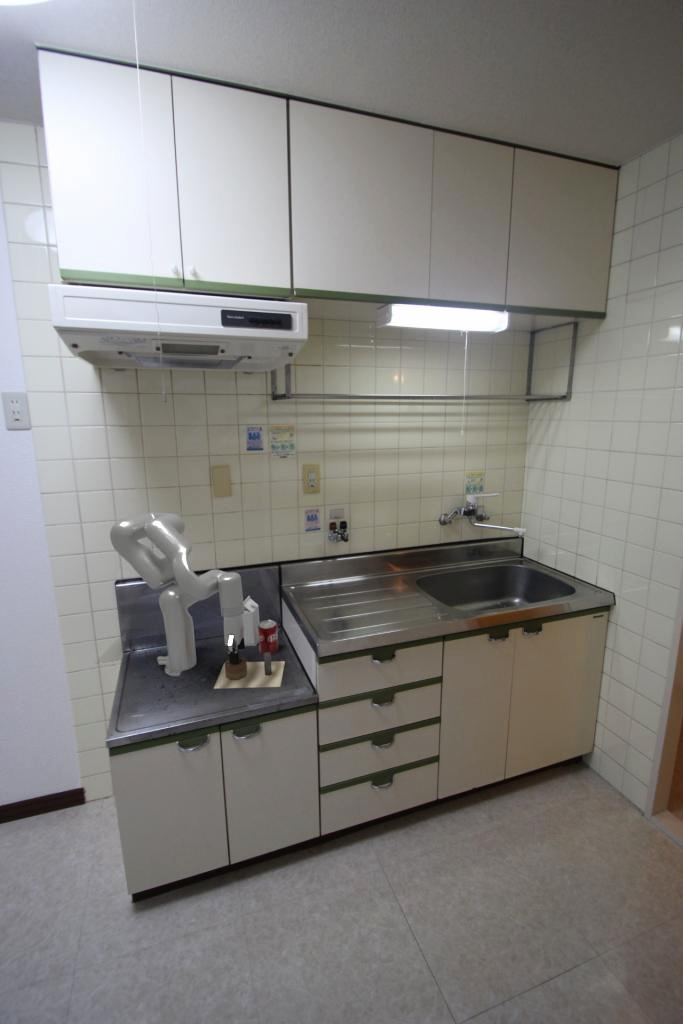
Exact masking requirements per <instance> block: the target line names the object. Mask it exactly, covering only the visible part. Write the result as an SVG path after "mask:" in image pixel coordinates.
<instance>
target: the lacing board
mask: <svg viewBox="0 0 683 1024" xmlns="http://www.w3.org/2000/svg"><path fill="white" fill-rule="evenodd" d="M285 662H286V661H285V660H280V661H272V654H271V653H269V652H266V653H264V654H263V661H246V663H247V674H246V677H244V678H242V679H240V680H229V679H228V678H226V672H225V663H226V662H224V663H223V665H222V668H221V670H220V672H219V675H218V678H217V679H216V682H215V684H214V687H213V689H214V690H216V689H251V688H253V689H254V688H256V689H257V688H280V687H281V686H282V679H283V674H284V668H285V665H286V664H285Z"/></svg>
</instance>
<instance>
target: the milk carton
mask: <svg viewBox="0 0 683 1024" xmlns="http://www.w3.org/2000/svg"><path fill="white" fill-rule="evenodd" d="M243 603H244V614H242V617H243V624H244V637H243V638H244V643H245V647H256V646H258V645H259V636H258V625H259V623H261V621H260V610H259V609H260V608H259V604H258V603H257V602H255V601H254V600H253V599H252V598H251V596H250V595H248V596H247V598H245V599H244V600H243Z"/></svg>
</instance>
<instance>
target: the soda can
mask: <svg viewBox="0 0 683 1024" xmlns="http://www.w3.org/2000/svg"><path fill="white" fill-rule="evenodd" d="M278 634H279V632H278V623H277V622H276V621H274V620H271V619H268V620H263V621H260V623H259V625H258V636H259V642H258V649H259V653H261V654H263V655H264V653H266V652H269V653H271V655H272V654H275V653H277V652H278V651H279V635H278Z"/></svg>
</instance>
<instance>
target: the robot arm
mask: <svg viewBox="0 0 683 1024" xmlns="http://www.w3.org/2000/svg"><path fill="white" fill-rule="evenodd" d="M185 529H186V526H185V521H184V520H183V518H182V517H181V516H180V515H178V514H176V513H169V512H152V511H150V512H143V513H140V514H136V515H134V516H130V517H126V518H124V519H121V520H119V521H117V522H115V524H113V526H111V529H110V533H109V538H110V542H111V545H112V547H113V548H114V550H115V551H116V552H117V554H118V555H119V556H121V557H122V558H123V559H124V560H126V562H127V563H128V564H130V566H131V567H132V568H133V570H134V571H135V572H136V573H137V574H138V576H140V578H141V579H142V580H143V582H144V583H146V585H147V586H148V587H149V588H151V589H153V590H159V589H161V588H165V587H166V586H169V585H170V584H172V583H174V584H172V585H170V586H169V587H167V588H166V589H164V590H163V591H162V592H161V594H160V595H159V597H158V604H159V607H160V611H161V613H162V618H163V622H164V623H163V624H164V631H165V638H166V640H165V641H166V650H167V655H166V656H161V655H160V656H159V655H158V656H157V662H158V665H159V666H162V665H164V672H165V674H167V676H170V677H177V678H178V677H179V676H180V675H181V673H182V672H183V671H187V670H188V671H189V670H190V669H192V668H193V667H195V666H196V665H197V663H198V662H197V652H196V640H195V631H194V629H195V628H194V620H193V617H192V615H191V614H190V613H189V611H188V608H190V607H191V606H192V605H194V604H195V603H197V602H199V601H205V600H206V599H208V598H210V597H212V596H213V595H214V594H217V593H218V594H219V603H220V613H221V614H220V615H221V617H223V636H224V638H223V641H224V646H226V647H227V648H228V650H227V651H228V653H227V654H228V659H229V661H230V664H238V663H239V662H240V661H239V656H240V653H239V651H238V650H245V648H246V646H245V643H244V638H243V637H244V624H243V617H242V614H244V603H243V602H244V596H243V595H244V594H243V586H242V577H241V575H240V573H238V572H234V571H232V572H231V571H229V572H227V571H223V570H220V569H211V570H208V571H207V572H205V573H203V574H201V575H199V576H198V575H197V574H196V573H195V572H194V571H193V569H192V568H191V567H190V566H189V565H188V561H187V560H188V557H189V555H190V554H191V552H192V550H193V549H192V548H193V546H192V544H191V543H190V542H189V541H188V540H187V539H186V538H185V537H183V535H182V534H183V533H184V532H185ZM145 538H147V539H148V540H149V541H150V542H151V543H152V545H154V546H155V547H156V548H157V549H158V550H159V551H160V553H162V554H163V555H164V556H165V557H162V558H160V557H159V556H157V554H155V552H154V551H153V550H152V549H151V548H150V547H149V546H147V545H145V544H143V543H141V542H139V540H143V539H145Z"/></svg>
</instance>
